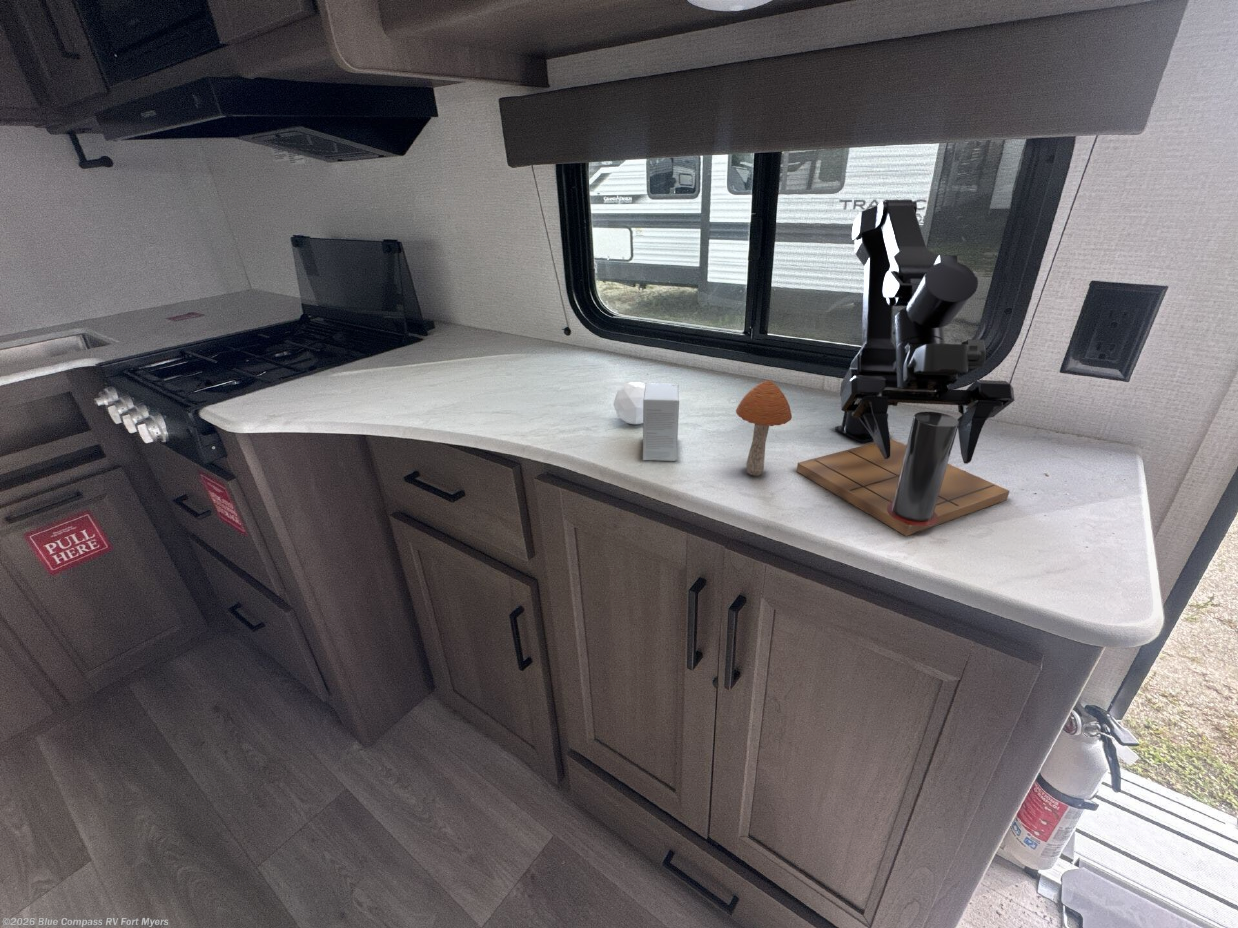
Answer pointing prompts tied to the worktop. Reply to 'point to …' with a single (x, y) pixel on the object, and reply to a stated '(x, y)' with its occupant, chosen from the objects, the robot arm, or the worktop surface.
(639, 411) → the geometric ball
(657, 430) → the small box
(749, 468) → the mushroom
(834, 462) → the board
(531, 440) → the worktop surface
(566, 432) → the worktop surface
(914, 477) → the black cylinder
